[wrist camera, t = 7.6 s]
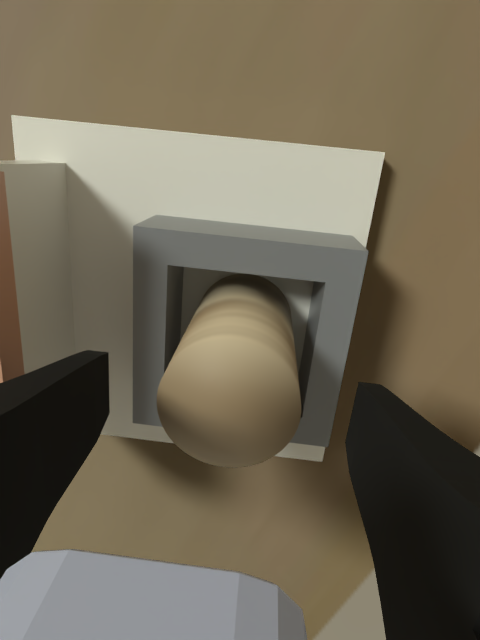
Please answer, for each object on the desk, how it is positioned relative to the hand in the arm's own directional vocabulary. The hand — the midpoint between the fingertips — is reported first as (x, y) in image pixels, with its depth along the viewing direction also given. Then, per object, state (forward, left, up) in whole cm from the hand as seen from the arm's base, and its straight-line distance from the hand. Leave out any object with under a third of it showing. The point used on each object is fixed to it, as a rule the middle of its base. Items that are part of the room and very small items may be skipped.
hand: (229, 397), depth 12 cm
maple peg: (0, 0, -7) cm, 6 cm away
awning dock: (0, +2, -8) cm, 8 cm away
